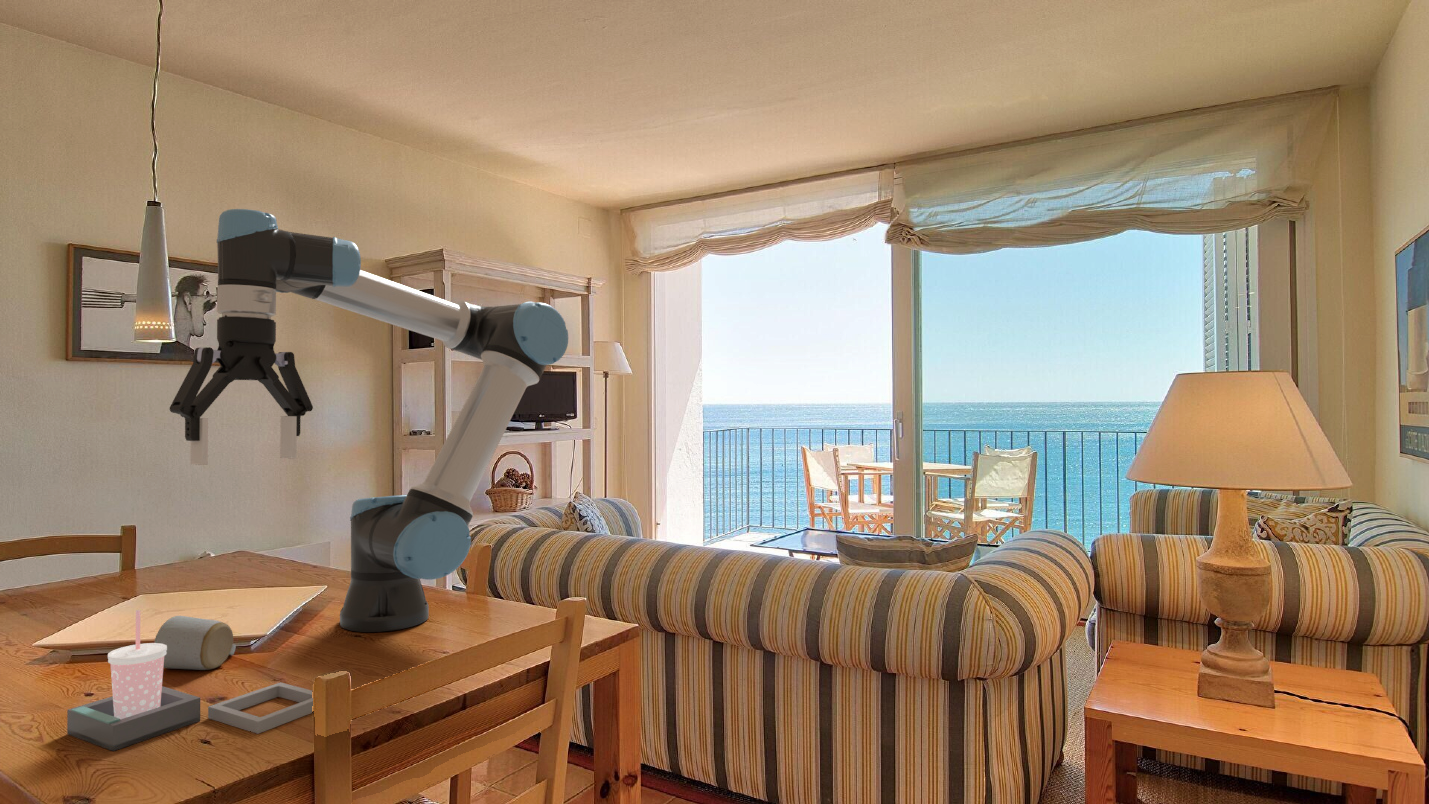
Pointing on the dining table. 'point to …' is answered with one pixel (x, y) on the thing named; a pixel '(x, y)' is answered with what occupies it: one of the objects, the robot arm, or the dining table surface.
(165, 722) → the dark gray open tray
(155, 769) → the dining table surface
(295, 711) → the gray rectangular frame
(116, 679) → the beverage cup
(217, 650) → the ceramic mug
